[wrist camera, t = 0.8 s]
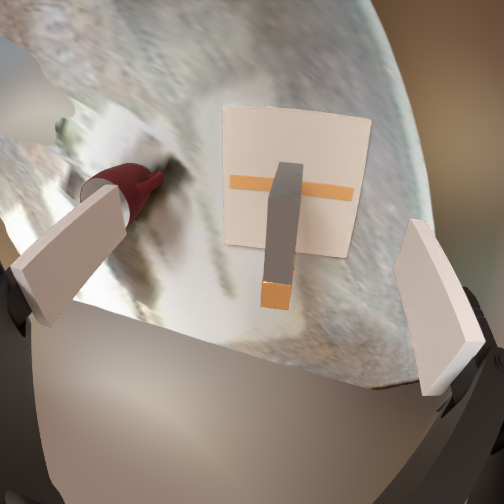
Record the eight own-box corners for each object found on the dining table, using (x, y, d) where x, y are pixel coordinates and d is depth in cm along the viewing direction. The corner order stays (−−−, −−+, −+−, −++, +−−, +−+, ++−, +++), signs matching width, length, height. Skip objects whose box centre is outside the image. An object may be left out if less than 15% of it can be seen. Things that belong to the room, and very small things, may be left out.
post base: (224, 105, 35) (203, 114, 28) (370, 119, 32) (385, 131, 26) (226, 240, 46) (211, 272, 39) (345, 254, 44) (350, 289, 37)
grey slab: (278, 161, 29) (266, 197, 22) (304, 164, 29) (302, 201, 22) (272, 252, 36) (260, 306, 28) (294, 254, 35) (288, 310, 28)
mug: (161, 135, 38) (123, 157, 30) (187, 184, 42) (157, 217, 34) (110, 165, 42) (70, 192, 34) (134, 208, 46) (100, 242, 37)
